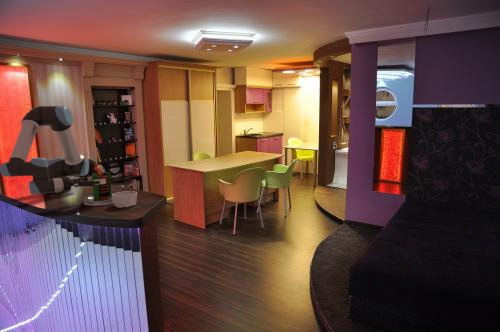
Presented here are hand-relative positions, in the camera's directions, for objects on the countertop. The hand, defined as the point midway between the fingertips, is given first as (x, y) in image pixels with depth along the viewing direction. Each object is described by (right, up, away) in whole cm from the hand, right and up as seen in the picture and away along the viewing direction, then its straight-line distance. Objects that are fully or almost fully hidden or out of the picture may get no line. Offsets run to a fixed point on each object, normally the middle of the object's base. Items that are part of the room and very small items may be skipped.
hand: (102, 179), depth 202 cm
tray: (-1, -13, +1) cm, 13 cm away
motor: (-1, -12, +1) cm, 12 cm away
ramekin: (+17, -15, -8) cm, 24 cm away
